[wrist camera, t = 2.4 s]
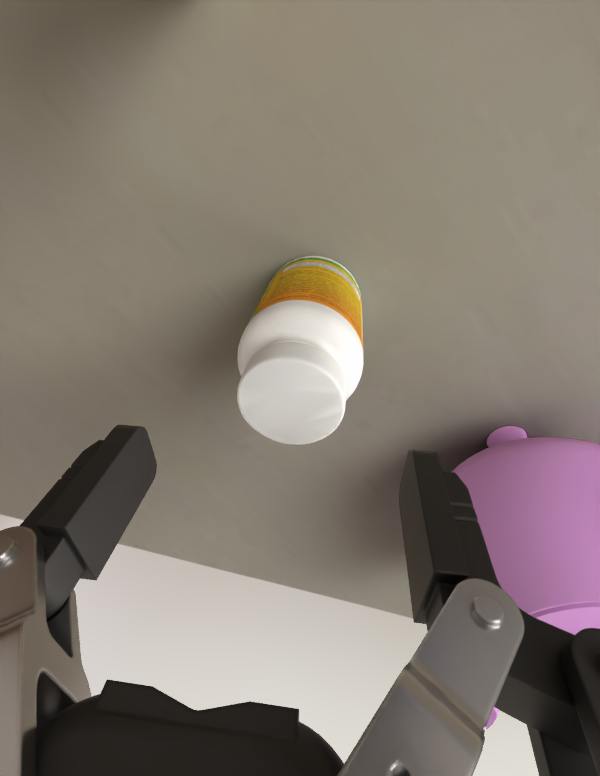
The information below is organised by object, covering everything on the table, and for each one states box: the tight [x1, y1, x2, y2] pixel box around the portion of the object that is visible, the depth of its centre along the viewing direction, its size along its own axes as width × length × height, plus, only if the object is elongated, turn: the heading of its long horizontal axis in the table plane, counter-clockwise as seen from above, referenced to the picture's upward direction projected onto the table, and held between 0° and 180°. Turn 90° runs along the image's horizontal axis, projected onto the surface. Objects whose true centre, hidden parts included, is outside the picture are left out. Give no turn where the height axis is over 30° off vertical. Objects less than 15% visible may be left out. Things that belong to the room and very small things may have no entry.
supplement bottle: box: [237, 256, 363, 445], centre depth 17 cm, size 5×5×10 cm
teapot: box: [452, 426, 600, 730], centre depth 23 cm, size 20×14×12 cm
